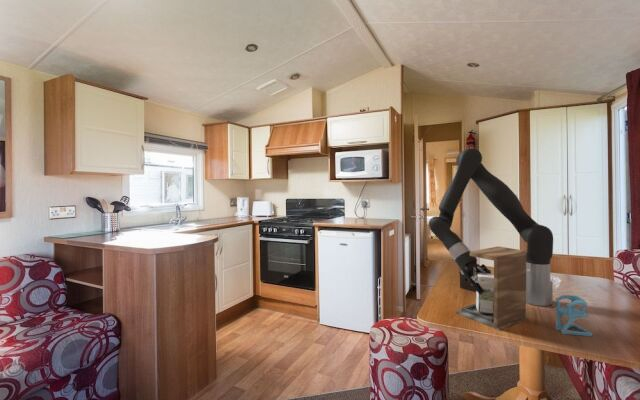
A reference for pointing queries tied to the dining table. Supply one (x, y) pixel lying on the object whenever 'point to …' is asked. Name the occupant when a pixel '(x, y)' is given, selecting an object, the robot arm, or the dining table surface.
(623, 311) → the dining table surface
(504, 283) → the walnut shelf
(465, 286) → the coffee grinder
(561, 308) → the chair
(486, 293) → the syrup box
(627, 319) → the dining table surface
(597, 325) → the dining table surface
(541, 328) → the dining table surface
